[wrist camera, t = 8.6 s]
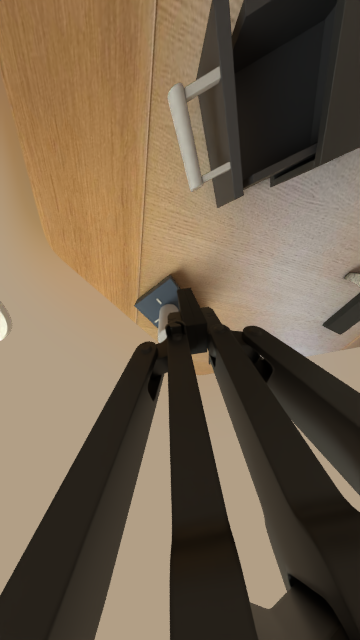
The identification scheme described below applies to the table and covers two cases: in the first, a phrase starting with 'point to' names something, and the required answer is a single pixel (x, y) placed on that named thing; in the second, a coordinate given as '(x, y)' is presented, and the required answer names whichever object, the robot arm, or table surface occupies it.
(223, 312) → the table surface
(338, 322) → the smart home device
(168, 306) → the timer knob
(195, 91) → the open drawer with handle
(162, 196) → the table surface
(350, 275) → the wristwatch
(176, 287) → the timer panel
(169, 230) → the table surface
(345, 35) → the drawer cabinet
